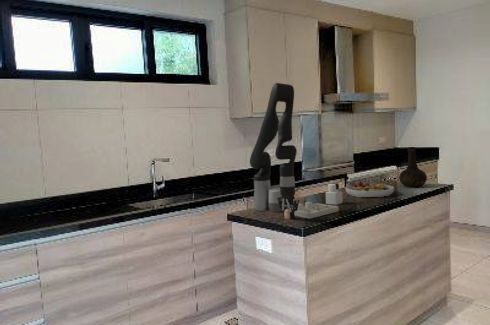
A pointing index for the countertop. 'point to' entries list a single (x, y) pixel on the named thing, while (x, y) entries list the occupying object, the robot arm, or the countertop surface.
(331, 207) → the egg carton
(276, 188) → the smart speaker
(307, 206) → the white egg middle
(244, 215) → the countertop surface
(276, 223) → the countertop surface
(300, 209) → the white egg near
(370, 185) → the bowl
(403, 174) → the dark brown vase
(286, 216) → the tan egg
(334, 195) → the medicine bottle
